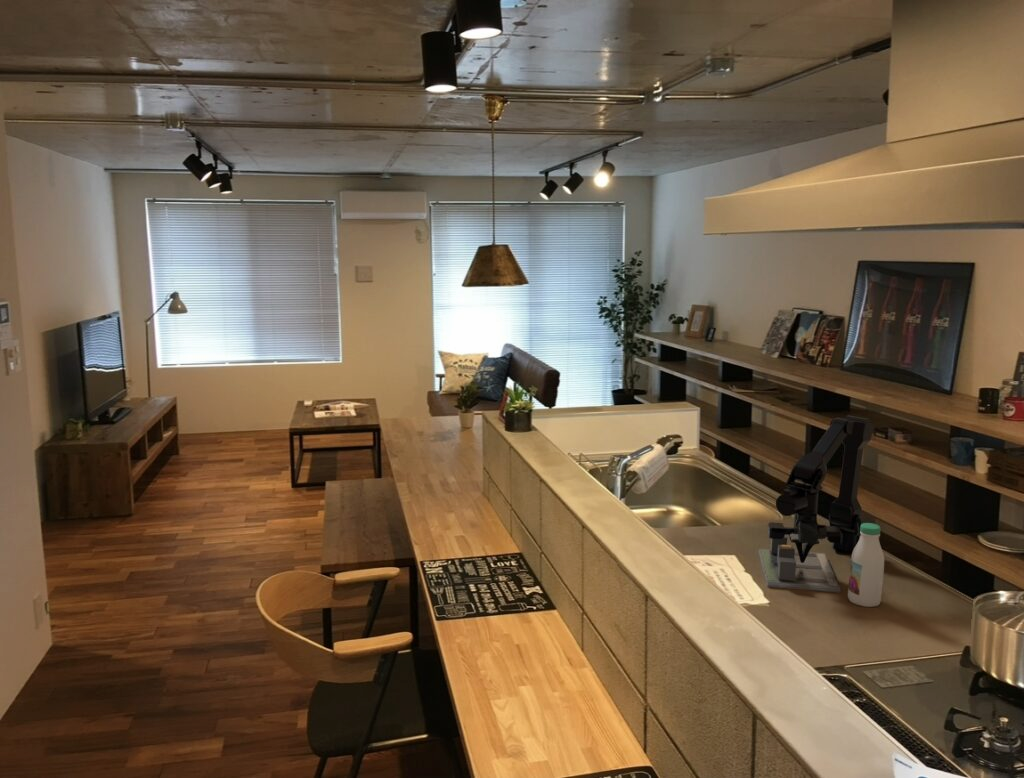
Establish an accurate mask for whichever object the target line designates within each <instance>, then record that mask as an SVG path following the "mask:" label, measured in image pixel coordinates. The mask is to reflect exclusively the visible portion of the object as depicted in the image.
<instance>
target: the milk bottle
mask: <svg viewBox="0 0 1024 778" xmlns="http://www.w3.org/2000/svg"><path fill="white" fill-rule="evenodd" d="M881 530H882V529H881V526H880V525H879V524H876V523H871V522H865V523H863V524H861V527H860V533H861V535H860V538H859V541H858V543H857V545H856V546H855V548H854V550H853V552H852V554H851V557H850V564H849V565H850V567H849V576H848V577H849V578H848V589H847V599H848V600H849V601H850V602H851V603H852V604H854V605H857V606H861V607H867V608H873V607H878V606H879V605H880V604H881V602H882V593H883V582H884V572H885V571H884V570H885V556H884V551H883V549H882V546H881V543H880V537H881Z"/></svg>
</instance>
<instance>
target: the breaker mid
mask: <svg viewBox="0 0 1024 778" xmlns="http://www.w3.org/2000/svg"><path fill="white" fill-rule="evenodd" d="M795 551H796V550H795V547H794V545H791V544H790V545H788V544H787V545H778V554H777V564H778V563H779V557H782V558H794V555H795Z"/></svg>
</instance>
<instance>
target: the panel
mask: <svg viewBox="0 0 1024 778" xmlns="http://www.w3.org/2000/svg"><path fill="white" fill-rule="evenodd" d="M758 555H759V558H760V563H761V567H762V571H763V575H764V580H765V583H766V586H767V588H777V589H778V588H779V589H791V590H792V589H793V590H804V591H816V592H817V591H818V592H829V593H841V585H840V584H839V581H838V580H837V579H838V578H837V576H836V574H835V572H834V570H833V568H832V566H831V563H830V561H829V559H828V557H827V555H826V553H825V552H810V551H809V553H808V555H807V557H806V559H805V561H804V563H801V562H800V558H799V554H798V551H797V550H795V555H794V558H795V561H796V574H795V581H790V580H779V578H778V564H777V554H772V553H771V550H770V549H769V548H768V549H767V548H759V549H758Z"/></svg>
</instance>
